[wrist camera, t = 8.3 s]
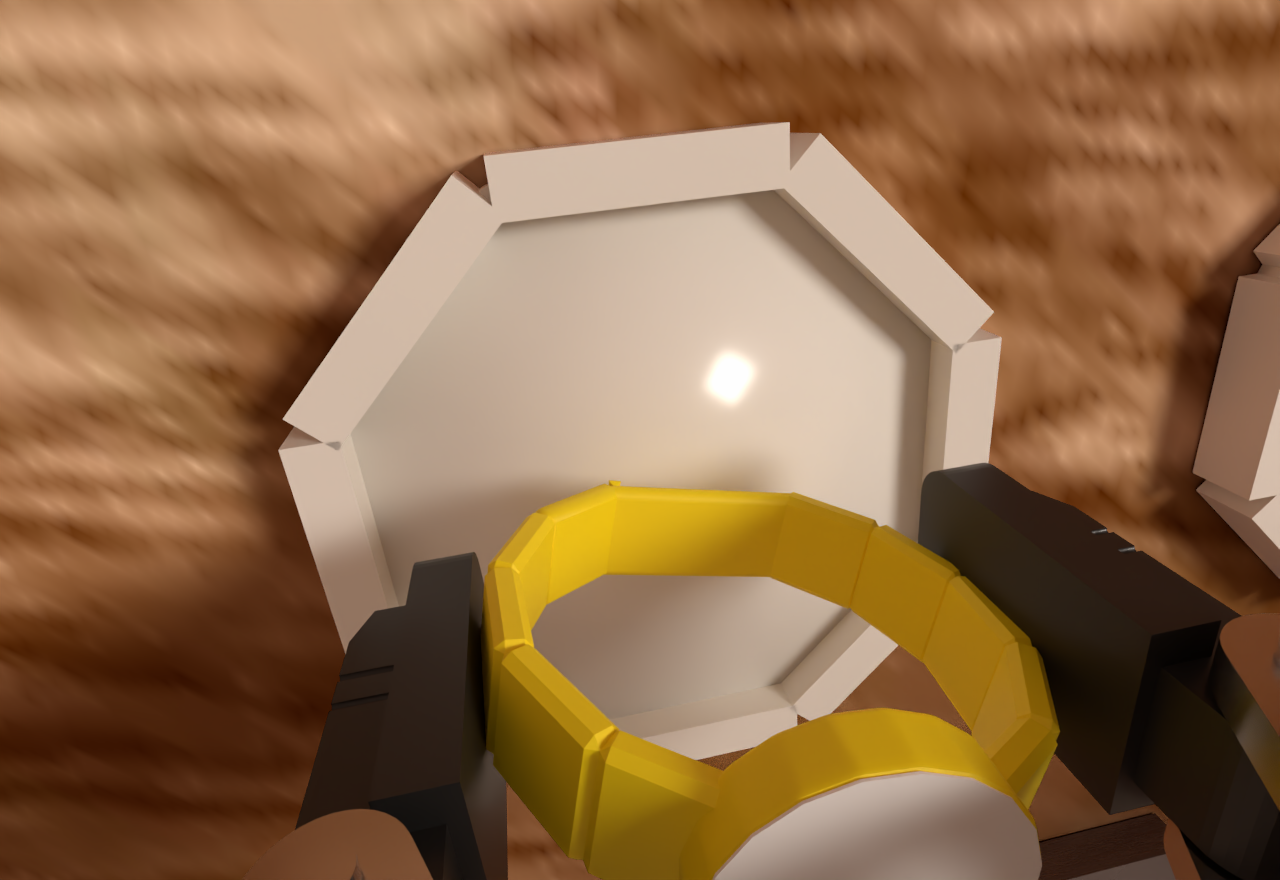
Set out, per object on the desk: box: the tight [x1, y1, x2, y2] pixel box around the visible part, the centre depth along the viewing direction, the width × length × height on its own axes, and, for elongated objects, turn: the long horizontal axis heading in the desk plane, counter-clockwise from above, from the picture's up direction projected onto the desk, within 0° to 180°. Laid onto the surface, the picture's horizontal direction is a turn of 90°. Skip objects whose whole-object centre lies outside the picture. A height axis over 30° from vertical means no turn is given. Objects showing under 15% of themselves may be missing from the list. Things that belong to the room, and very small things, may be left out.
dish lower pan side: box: [278, 122, 1002, 760], centre depth 12 cm, size 11×11×1 cm
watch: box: [481, 480, 1060, 880], centre depth 8 cm, size 6×3×6 cm, turn 82°
